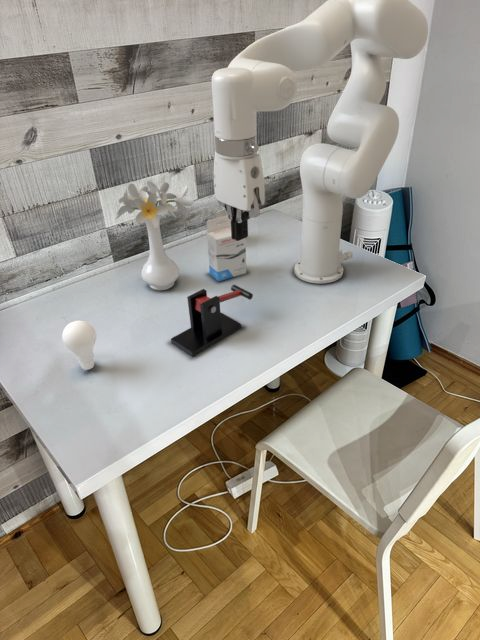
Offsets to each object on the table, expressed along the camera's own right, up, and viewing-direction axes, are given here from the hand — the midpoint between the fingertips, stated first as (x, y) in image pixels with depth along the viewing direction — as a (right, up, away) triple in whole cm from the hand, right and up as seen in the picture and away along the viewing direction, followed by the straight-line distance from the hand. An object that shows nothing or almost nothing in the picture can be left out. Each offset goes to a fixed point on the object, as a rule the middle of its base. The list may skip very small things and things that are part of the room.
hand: (239, 237), depth 104 cm
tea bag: (-6, +7, +41) cm, 42 cm away
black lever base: (-7, -20, +6) cm, 22 cm away
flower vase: (-20, -6, +24) cm, 32 cm away
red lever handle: (-4, -13, +5) cm, 15 cm away
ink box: (-4, -4, +27) cm, 27 cm away
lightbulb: (-30, -27, -3) cm, 41 cm away
